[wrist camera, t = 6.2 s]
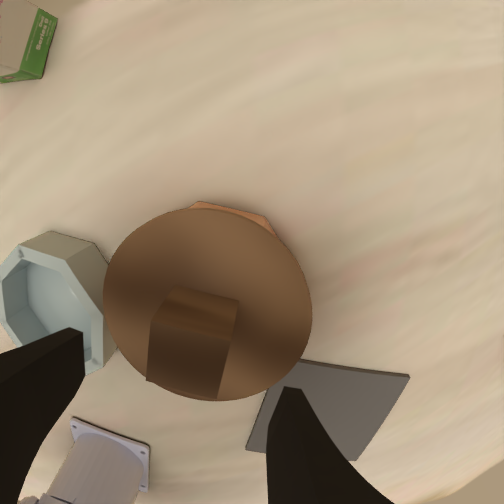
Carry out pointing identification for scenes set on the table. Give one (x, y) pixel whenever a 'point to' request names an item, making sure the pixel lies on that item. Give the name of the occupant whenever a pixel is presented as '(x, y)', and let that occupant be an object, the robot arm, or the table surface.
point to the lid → (207, 304)
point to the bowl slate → (56, 294)
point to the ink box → (23, 40)
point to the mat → (336, 403)
